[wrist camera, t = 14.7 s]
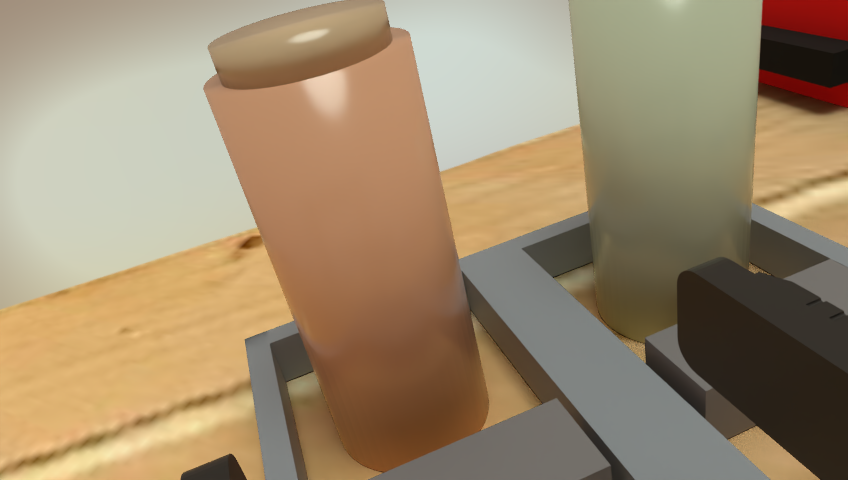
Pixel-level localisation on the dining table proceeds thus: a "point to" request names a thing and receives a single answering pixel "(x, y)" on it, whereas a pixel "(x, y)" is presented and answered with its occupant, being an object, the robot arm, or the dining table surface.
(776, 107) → the dining table surface
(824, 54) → the red and black block
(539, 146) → the dining table surface
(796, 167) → the dining table surface
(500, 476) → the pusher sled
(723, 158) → the green jar
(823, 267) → the rack
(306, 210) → the terracotta jar
